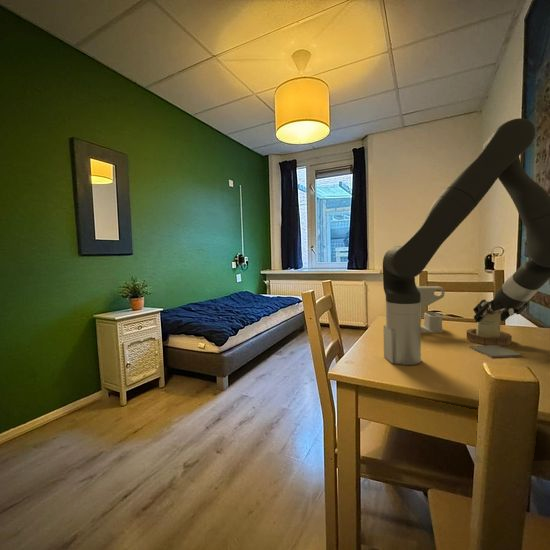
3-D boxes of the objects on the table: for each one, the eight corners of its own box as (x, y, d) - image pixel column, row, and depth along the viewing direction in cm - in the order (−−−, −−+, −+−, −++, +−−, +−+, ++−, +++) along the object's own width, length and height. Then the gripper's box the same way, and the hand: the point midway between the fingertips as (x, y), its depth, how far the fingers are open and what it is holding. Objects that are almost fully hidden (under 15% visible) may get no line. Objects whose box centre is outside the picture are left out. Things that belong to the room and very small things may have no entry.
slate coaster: (490, 357, 84) (490, 355, 84) (469, 347, 93) (469, 346, 93) (521, 356, 84) (521, 354, 84) (497, 346, 93) (497, 344, 93)
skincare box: (477, 341, 99) (478, 306, 98) (476, 337, 103) (476, 303, 102) (500, 343, 96) (501, 307, 95) (497, 339, 100) (498, 304, 99)
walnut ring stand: (483, 346, 94) (483, 338, 93) (459, 335, 106) (459, 329, 106) (520, 345, 94) (520, 337, 93) (492, 334, 106) (492, 328, 106)
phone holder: (435, 326, 120) (435, 283, 119) (445, 333, 110) (445, 286, 109) (391, 326, 123) (390, 284, 122) (397, 332, 113) (396, 287, 112)
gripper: (532, 279, 89) (503, 309, 102) (486, 281, 89) (462, 311, 102) (548, 299, 85) (515, 328, 97) (500, 301, 85) (473, 329, 97)
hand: (488, 319), depth 99 cm, fingers open, 8 cm apart
